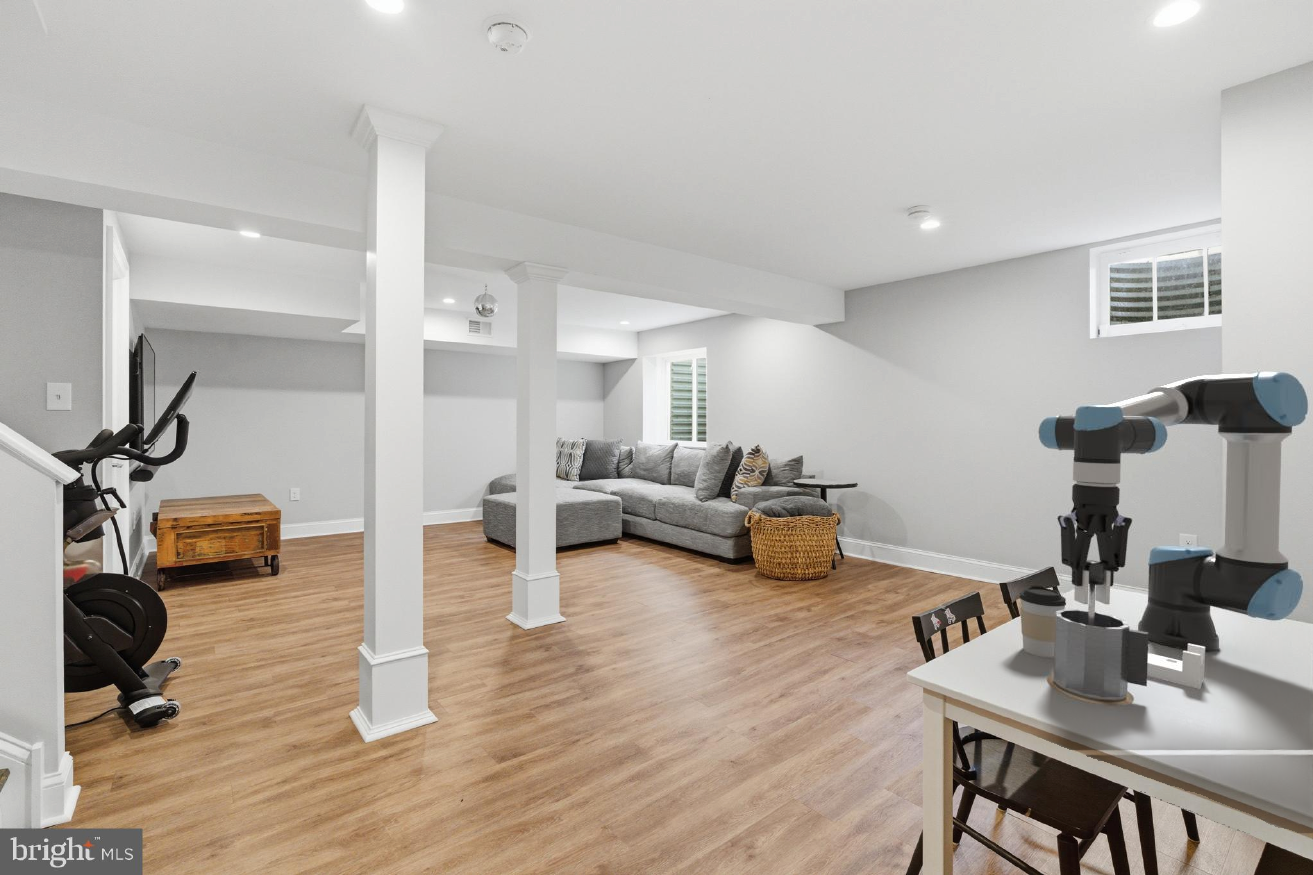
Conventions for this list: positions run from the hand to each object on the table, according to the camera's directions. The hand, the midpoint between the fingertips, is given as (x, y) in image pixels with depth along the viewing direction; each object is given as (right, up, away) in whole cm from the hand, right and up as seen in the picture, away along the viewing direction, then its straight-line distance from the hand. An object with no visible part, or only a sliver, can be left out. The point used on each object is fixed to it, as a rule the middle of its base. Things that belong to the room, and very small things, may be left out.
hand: (1091, 601), depth 119 cm
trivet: (0, -18, +1) cm, 18 cm away
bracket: (+20, -18, +8) cm, 29 cm away
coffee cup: (+2, -17, +20) cm, 26 cm away
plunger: (0, -12, 0) cm, 12 cm away
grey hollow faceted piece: (0, -17, +1) cm, 17 cm away
